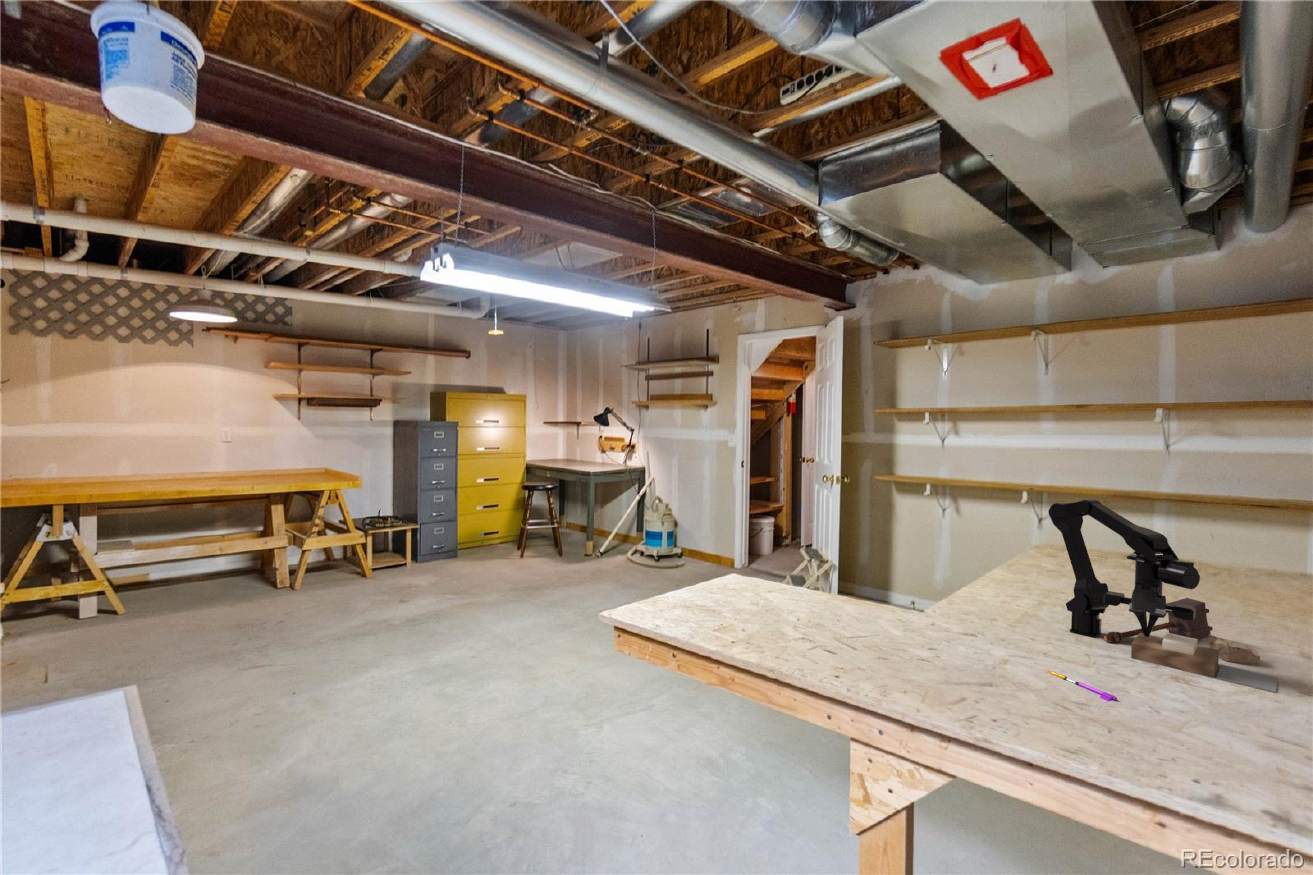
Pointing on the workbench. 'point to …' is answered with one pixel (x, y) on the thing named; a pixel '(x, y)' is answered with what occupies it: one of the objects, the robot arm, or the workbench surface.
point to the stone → (1233, 650)
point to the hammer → (1176, 624)
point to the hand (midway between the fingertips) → (1146, 636)
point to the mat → (1247, 678)
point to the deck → (1175, 656)
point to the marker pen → (1088, 688)
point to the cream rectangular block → (1180, 644)
